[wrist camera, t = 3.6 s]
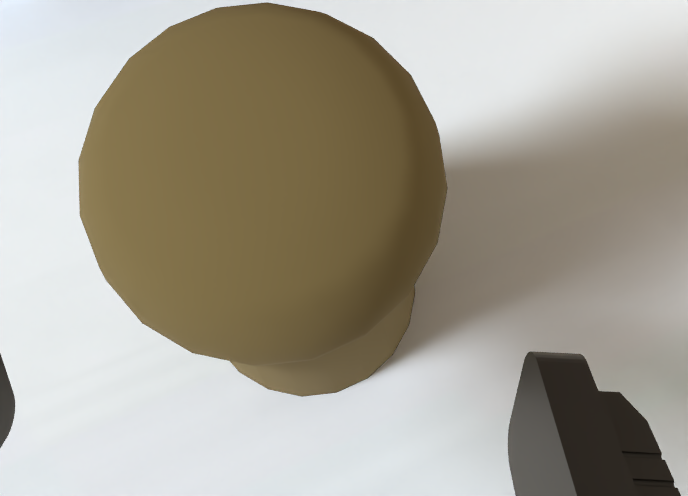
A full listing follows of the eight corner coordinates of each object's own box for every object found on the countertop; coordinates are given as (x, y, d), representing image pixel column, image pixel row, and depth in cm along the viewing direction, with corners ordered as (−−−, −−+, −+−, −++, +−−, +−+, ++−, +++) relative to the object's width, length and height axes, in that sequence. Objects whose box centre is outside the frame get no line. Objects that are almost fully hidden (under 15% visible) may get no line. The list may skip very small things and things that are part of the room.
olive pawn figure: (323, 442, 18) (280, 515, 7) (158, 304, 19) (-106, 179, 8) (457, 271, 19) (598, 104, 8) (294, 146, 20) (224, -154, 9)
